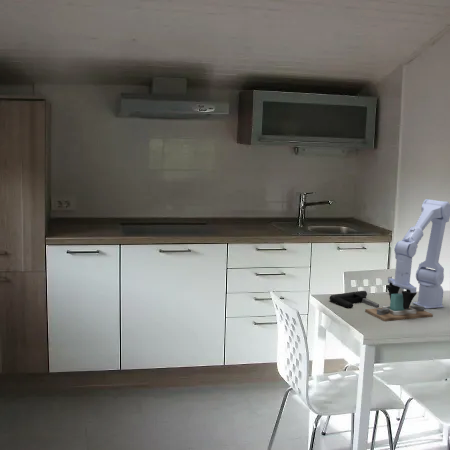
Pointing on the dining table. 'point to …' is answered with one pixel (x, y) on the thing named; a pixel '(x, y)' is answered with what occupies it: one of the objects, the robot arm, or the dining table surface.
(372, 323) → the dining table surface
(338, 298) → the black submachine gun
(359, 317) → the dining table surface
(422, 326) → the dining table surface
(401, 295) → the block
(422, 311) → the board
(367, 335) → the dining table surface
